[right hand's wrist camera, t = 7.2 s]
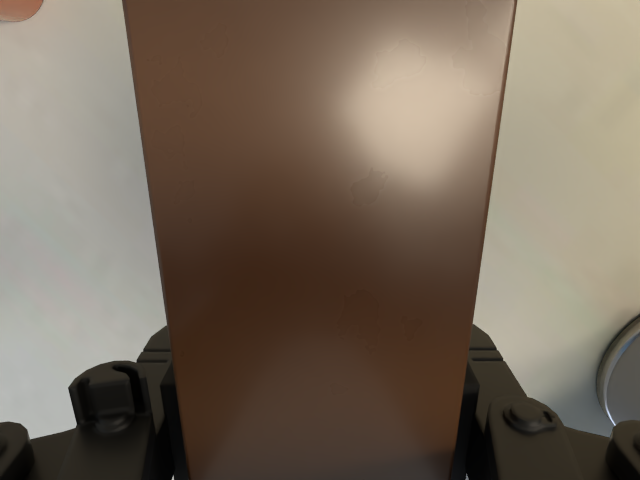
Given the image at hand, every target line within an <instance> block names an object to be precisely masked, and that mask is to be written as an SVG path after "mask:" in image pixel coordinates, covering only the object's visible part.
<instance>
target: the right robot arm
mask: <svg viewBox="0 0 640 480" xmlns="http://www.w3.org/2000/svg"><path fill="white" fill-rule="evenodd" d="M68 389H69V393H70V398H71V402H72V406H73V410H74V414H75V418H76V422H77V426H76V428H74V429H71V430H68V431H64V432H61V433H56V434H52V435H48V436H43V437H39V438H35V439H30V438H29V434H28V431H27V429H26V428H25V427H24V426H22V425H21V424H19V423H14V422H1V423H0V480H172V477H173V475H174V480H189V478H188V471H187V464H186V457H185V450H184V442H183V435H182V428H181V421H180V414H179V406H178V399H177V392H176V385H175V378H174V370H173V363H172V356H171V349H170V342H169V334H168V327H167V326H165V327H164V328H162V329H161V330H160V331H158V332H157V333H156V334H154V335H153V336H152V337H151V338H150V340H149V341H148V343H147V344H146V346H145V348H144V349H143V352H141V354H140V356H139V357H138V359H137V363H135V362H131V361H112V362H108V363H104V364H100V365H97V366H95V367H93V368H91V369H88V370H86V371H85V372H83V373H82V374H81V375H79V376H78V377H77V378H75V379H74V381H73V382H72V383H71V385H70V386H69V387H68ZM597 395H598V400H599V403H600V405H601V407H602V409H603V411H604V412H605V414H606V415H607V417H608V418H609V419H610V420H611V421H612V423H613V424H614V425H615V426H614V427H613V430H612V433H611V436H610V438H609V437H605V436H600V435H596V434H592V433H587V432H583V431H579V430H575V429H572V428H568V427H565V426H564V425H563V423H562V422H561V420H560V418H559V417H558V415H557V414H556V413H555V412H554V411H552V410H551V409H550V408H549V407H548V406H546V405H545V404H543V403H541V402H539V401H537V400H535V399H533V398H529V397H527V395H526V394H525V392H524V391H523V389H522V388H521V386H520V384H519V383H518V381H517V380H516V378H515V376H514V375H513V373H512V372H511V370H510V368H509V367H508V365H507V364H506V362H505V361H503V357H502V356H501V354H500V353H499V351H498V350H497V348H496V346H495V345H494V343H493V342H492V340H491V338H490V337H489V335H488V334H486V333H485V332H484V331H482V330H481V329H479V328H478V327H477V326H475V325H474V324H472V331H471V338H470V345H469V353H468V360H467V367H466V374H465V382H464V389H463V396H462V403H461V410H460V418H459V425H458V432H457V439H456V446H455V454H454V461H453V468H452V475H451V480H465V479H466V473H467V476H468V478H469V480H640V317H639V318H638V319H636V320H635V321H634V322H632V323H631V324H630V325H629V326H628V327H627V328H625V329H624V330H623V331H622V332H621V333H620V335H619V336H618V337H617V338H616V339H615V340H614V342H613V343H612V344H611V346H610V347H609V349H608V350H607V352H606V354H605V356H604V358H603V360H602V362H601V365H600V368H599V371H598V376H597Z"/></svg>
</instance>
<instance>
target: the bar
mask: <svg viewBox="0 0 640 480" xmlns="http://www.w3.org/2000/svg"><path fill="white" fill-rule="evenodd" d="M122 3H123V11H124V18H125V25H126V32H127V39H128V47H129V54H130V61H131V68H132V75H133V82H134V90H135V97H136V104H137V111H138V118H139V126H140V133H141V140H142V147H143V154H144V162H145V169H146V176H147V183H148V190H149V198H150V205H151V212H152V219H153V226H154V234H155V241H156V248H157V255H158V262H159V270H160V277H161V284H162V291H163V298H164V306H165V313H166V320H167V327H168V334H169V342H170V349H171V356H172V363H173V370H174V378H175V385H176V392H177V399H178V406H179V414H180V421H181V428H182V435H183V442H184V450H185V457H186V464H187V471H188V478H189V480H451V475H452V468H453V461H454V454H455V446H456V439H457V432H458V425H459V418H460V410H461V403H462V396H463V389H464V382H465V374H466V367H467V360H468V353H469V345H470V338H471V331H472V324H473V317H474V309H475V302H476V295H477V288H478V281H479V273H480V266H481V259H482V252H483V244H484V237H485V230H486V223H487V216H488V208H489V201H490V194H491V187H492V180H493V172H494V165H495V158H496V151H497V144H498V136H499V129H500V122H501V115H502V107H503V100H504V93H505V86H506V79H507V71H508V64H509V57H510V50H511V43H512V35H513V28H514V21H515V14H516V6H517V0H122Z"/></svg>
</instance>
